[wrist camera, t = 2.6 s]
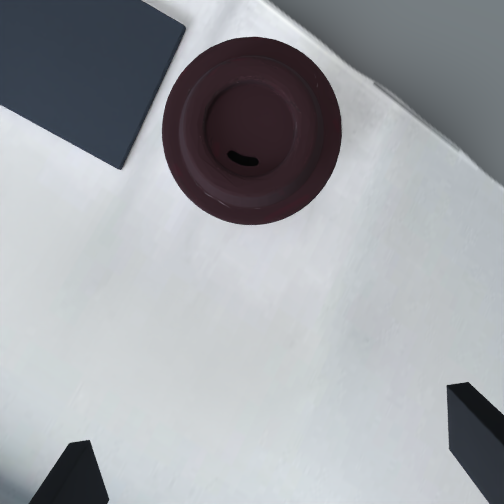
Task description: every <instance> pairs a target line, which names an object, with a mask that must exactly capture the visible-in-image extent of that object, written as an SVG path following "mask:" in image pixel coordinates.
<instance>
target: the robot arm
mask: <svg viewBox="0 0 504 504" xmlns="http://www.w3.org/2000/svg"><path fill="white" fill-rule="evenodd" d="M447 405H448V431H449V450H450V451H451V452H452V454H453V455H454V456H455V458H456V459H457V460H458V462H459V463H460V464H461V466H462V467H463V469H464V470H465V471H466V473H467V474H468V475H469V477H470V478H471V479H472V481H473V482H474V483H475V485H476V486H477V487H478V489H479V490H480V492H481V493H482V494H483V496H484V497H485V498H486V500H487V501H488V502H489V504H504V415H503V414H502V413H501V412H500V411H499V410H498V409H497V408H495V407H494V406H493V405H492V404H491V403H490V402H489V401H488V400H487V399H486V398H485V397H484V396H483V395H482V394H480V393H479V392H478V391H477V390H476V389H475V388H474V387H473V386H472V385H471V384H470V383H469V382H465V383H459V384H452V385H447ZM108 501H109V497H108V494H107V491H106V488H105V485H104V482H103V479H102V476H101V473H100V470H99V467H98V464H97V461H96V458H95V455H94V452H93V449H92V445H91V442H90V440H86V441H79V442H73V443H69V444H68V446H67V447H66V449H65V450H64V452H63V453H62V455H61V456H60V458H59V459H58V461H57V462H56V464H55V465H54V467H53V468H52V470H51V471H50V473H49V474H48V476H47V477H46V479H45V480H44V482H43V483H42V485H41V486H40V488H39V489H38V491H37V492H36V494H35V495H34V497H33V498H32V500H31V501H30V503H29V504H107V503H108Z"/></svg>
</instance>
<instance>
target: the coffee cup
mask: <svg viewBox="0 0 504 504" xmlns="http://www.w3.org/2000/svg"><path fill="white" fill-rule="evenodd" d="M341 137H342V129H341V115H340V109H339V106H338V102H337V99H336V96H335V94H334V91H333V89H332V87H331V85H330V83H329V81H328V80H327V78H326V77H325V75H324V74H323V73H322V71H321V70H320V69H319V67H318V66H317V65H316V64H315V63H314V62H313V61H312V60H311V59H309V58H308V57H307V56H306V55H305V54H303V53H302V52H300V51H299V50H297V49H295V48H293V47H292V46H290V45H288V44H285V43H283V42H280V41H277V40H274V39H269V38H262V37H243V38H235V39H231V40H227V41H225V42H222V43H220V44H217V45H215V46H213V47H211V48H209V49H207V50H206V51H204V52H203V53H201V54H200V55H199V56H197V57H196V58H195V59H194V60H193V61H192V62H191V63H190V64H189V65H188V66H187V67H186V68H185V69H184V71H183V72H182V73H181V74H180V76H179V77H178V79H177V80H176V82H175V84H174V86H173V88H172V90H171V92H170V94H169V97H168V99H167V102H166V106H165V110H164V115H163V123H162V141H163V147H164V153H165V158H166V160H167V163H168V166H169V169H170V171H171V173H172V175H173V177H174V179H175V181H176V182H177V184H178V186H179V187H180V188H181V190H182V191H183V192H184V194H185V195H186V196H187V197H188V198H189V199H190V200H191V201H192V202H193V203H194V204H195V205H197V206H198V207H199V208H201V209H202V210H203V211H205V212H207V213H208V214H210V215H212V216H214V217H216V218H219V219H221V220H224V221H227V222H231V223H235V224H242V225H261V224H267V223H272V222H276V221H279V220H282V219H284V218H287V217H289V216H291V215H293V214H295V213H296V212H298V211H299V210H301V209H302V208H304V207H305V206H306V205H308V204H309V203H310V202H311V201H312V200H313V199H314V198H315V197H316V196H317V195H318V194H319V193H320V191H321V190H322V189H323V187H324V186H325V185H326V183H327V181H328V180H329V178H330V176H331V174H332V172H333V170H334V168H335V165H336V162H337V158H338V155H339V151H340V146H341Z"/></svg>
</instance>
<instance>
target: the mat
mask: <svg viewBox="0 0 504 504" xmlns="http://www.w3.org/2000/svg"><path fill="white" fill-rule="evenodd" d="M185 30H186V28H185V26H184V25H183V24H181V23H179V22H178V21H176V20H174V19H172V18H171V17H169V16H167V15H166V14H164V13H162V12H160V11H159V10H157V9H155V8H153V7H152V6H150V5H148V4H147V3H145V2H143V1H141V0H0V105H2V106H4V107H6V108H8V109H10V110H11V111H13V112H15V113H17V114H19V115H20V116H22V117H24V118H26V119H28V120H30V121H31V122H33V123H35V124H37V125H39V126H41V127H42V128H44V129H46V130H48V131H50V132H51V133H53V134H55V135H57V136H59V137H61V138H62V139H64V140H66V141H68V142H70V143H72V144H73V145H75V146H77V147H79V148H81V149H82V150H84V151H86V152H88V153H90V154H92V155H93V156H95V157H97V158H99V159H101V160H102V161H104V162H106V163H108V164H110V165H112V166H113V167H115V168H117V169H120V170H121V169H122V167H123V165H124V162H125V160H126V158H127V156H128V154H129V152H130V149H131V147H132V145H133V143H134V141H135V139H136V136H137V134H138V132H139V130H140V128H141V126H142V123H143V121H144V119H145V117H146V115H147V113H148V110H149V108H150V106H151V104H152V102H153V100H154V97H155V95H156V93H157V91H158V89H159V86H160V84H161V82H162V80H163V78H164V76H165V73H166V71H167V69H168V67H169V65H170V63H171V60H172V58H173V56H174V54H175V52H176V50H177V47H178V45H179V43H180V41H181V39H182V37H183V34H184V32H185Z"/></svg>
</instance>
